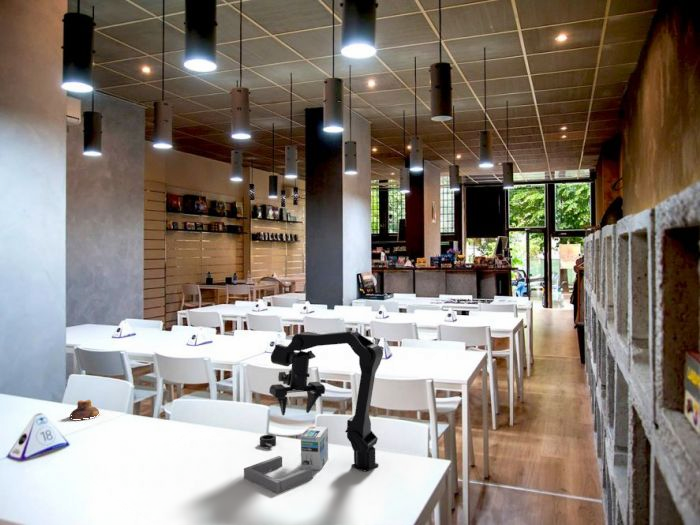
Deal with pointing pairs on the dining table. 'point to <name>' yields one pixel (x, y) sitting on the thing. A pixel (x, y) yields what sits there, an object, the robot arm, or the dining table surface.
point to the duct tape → (267, 440)
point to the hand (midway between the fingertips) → (295, 413)
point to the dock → (257, 476)
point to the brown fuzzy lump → (84, 410)
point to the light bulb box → (314, 447)
